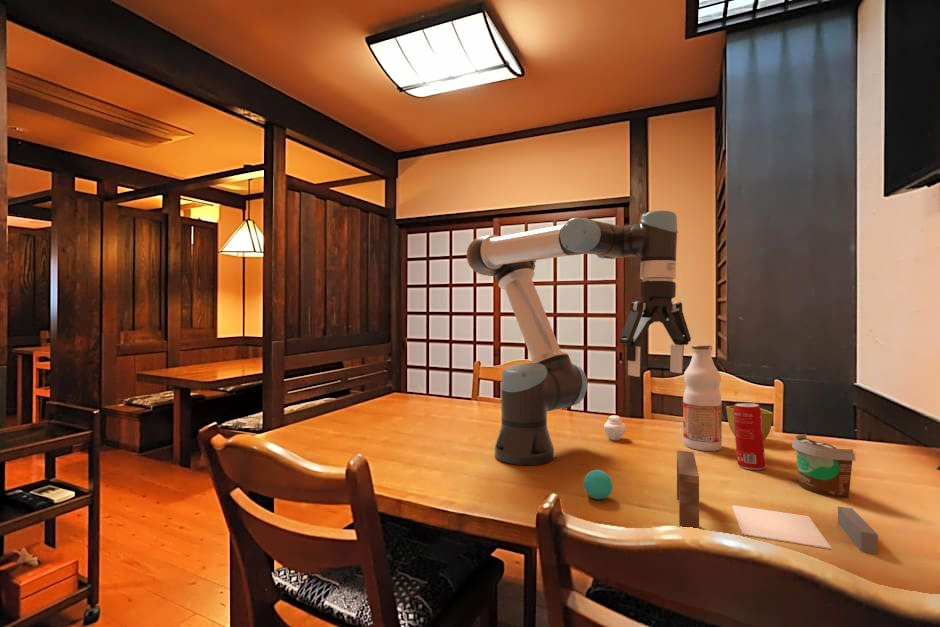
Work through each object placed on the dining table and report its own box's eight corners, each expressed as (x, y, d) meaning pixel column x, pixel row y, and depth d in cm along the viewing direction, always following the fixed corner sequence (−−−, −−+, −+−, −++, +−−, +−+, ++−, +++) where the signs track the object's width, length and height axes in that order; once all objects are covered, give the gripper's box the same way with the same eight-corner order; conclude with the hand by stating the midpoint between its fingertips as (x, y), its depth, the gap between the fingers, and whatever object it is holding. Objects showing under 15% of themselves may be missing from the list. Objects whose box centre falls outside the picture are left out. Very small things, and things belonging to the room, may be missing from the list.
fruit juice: (699, 452, 119) (699, 346, 119) (675, 442, 128) (675, 344, 128) (730, 450, 121) (729, 346, 121) (704, 440, 130) (704, 343, 130)
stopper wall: (861, 551, 70) (861, 531, 70) (837, 523, 79) (837, 506, 79) (877, 554, 69) (877, 534, 69) (852, 525, 78) (852, 508, 78)
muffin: (600, 436, 135) (600, 412, 135) (620, 435, 136) (620, 412, 136) (609, 442, 129) (608, 417, 129) (629, 441, 130) (629, 417, 130)
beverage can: (769, 471, 105) (769, 407, 105) (739, 470, 106) (738, 406, 106) (758, 463, 110) (758, 402, 110) (729, 461, 112) (729, 401, 112)
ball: (581, 501, 88) (581, 473, 88) (586, 491, 93) (585, 464, 93) (611, 506, 86) (610, 477, 86) (613, 495, 91) (613, 468, 91)
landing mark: (742, 534, 75) (742, 533, 75) (731, 506, 86) (731, 505, 86) (831, 549, 70) (831, 548, 70) (808, 517, 81) (808, 516, 81)
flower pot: (774, 444, 126) (774, 412, 126) (742, 444, 126) (742, 412, 126) (755, 436, 135) (754, 406, 135) (725, 436, 135) (725, 406, 135)
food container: (777, 479, 100) (777, 434, 100) (803, 478, 100) (803, 433, 100) (826, 502, 88) (826, 451, 88) (855, 501, 88) (855, 450, 88)
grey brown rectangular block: (679, 527, 77) (679, 474, 77) (676, 496, 91) (676, 450, 91) (699, 530, 76) (699, 476, 76) (693, 498, 90) (693, 452, 90)
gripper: (630, 277, 93) (627, 380, 94) (709, 282, 105) (706, 373, 105) (604, 279, 100) (602, 374, 101) (680, 283, 111) (678, 368, 112)
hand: (655, 374), depth 103 cm, fingers open, 13 cm apart
